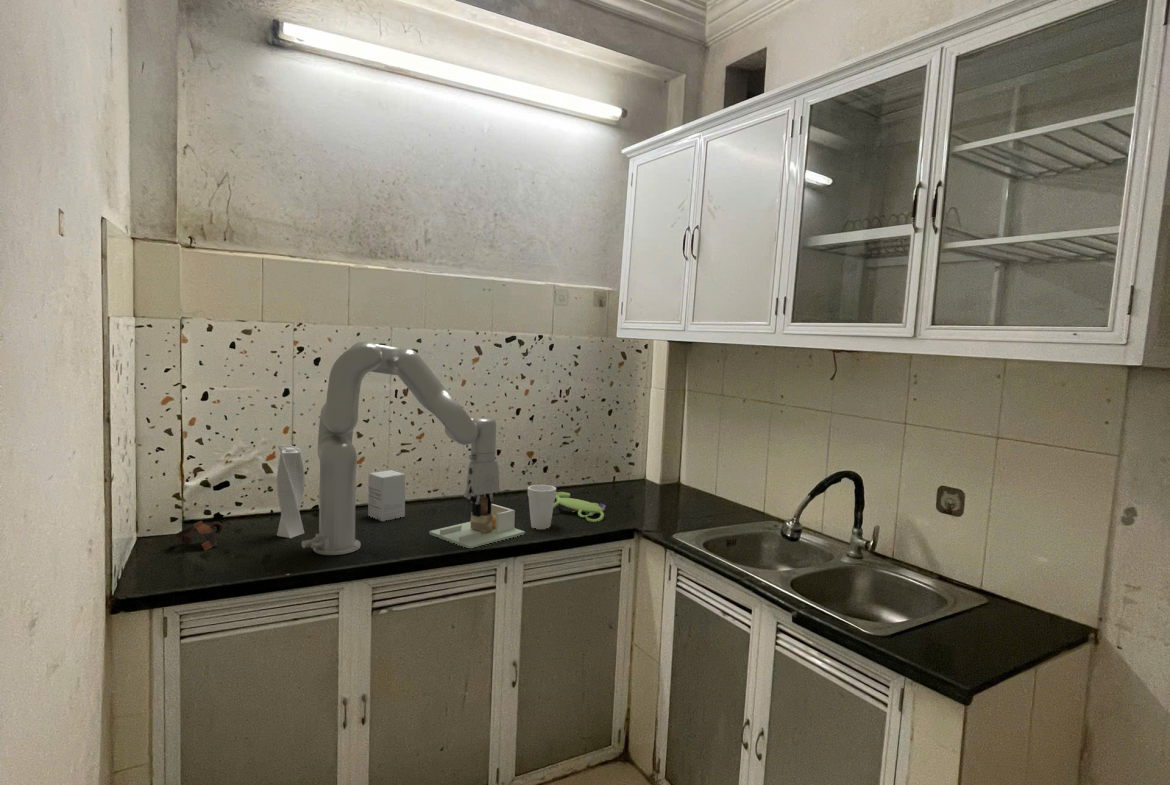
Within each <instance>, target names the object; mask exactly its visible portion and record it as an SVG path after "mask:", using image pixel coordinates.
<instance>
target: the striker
mask: <svg viewBox="0 0 1170 785" xmlns="http://www.w3.org/2000/svg"><path fill="white" fill-rule="evenodd" d="M479 504H480V505H481V509H480V517H477V516H474V515H472V511H471V512H470V522H471V527H470V528H472V529H475V530H478V531H481V532H484V533H486V532H490V531H492V520H493V515H490V514H487V512H488V498H487V497H485V496H480V500H479Z"/></svg>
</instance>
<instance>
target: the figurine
mask: <svg viewBox="0 0 1170 785" xmlns="http://www.w3.org/2000/svg"><path fill="white" fill-rule="evenodd" d="M555 500H556V501H554V507H553V509H554V508H555V507H557V506H558V505H561V506H564V507H566V508H569V509H572V511H571V512H572V513H574V512H577V516H579V517H580V518H585V520H586V521H588V522H589V523H591V522H592V523H598V522H600V521H602V520H603V519H604V518H605V513H604V512H605V510H606V506H607V505H606V504H604V503H601V502H590V501H587V500H582V499H578V498H573V497H572V498H571V493H570V492H564V491H558V492H557V491H556V496H555ZM582 512H584V514H585V515H583V514H582ZM595 514H600V515H599V517H598V518H590V517H592V516H594V515H595ZM597 521H598V522H597Z"/></svg>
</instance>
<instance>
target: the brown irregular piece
mask: <svg viewBox="0 0 1170 785" xmlns="http://www.w3.org/2000/svg"><path fill="white" fill-rule="evenodd" d="M223 527H224V526H223V524H222V523H221V522H220V521H213V522H211V523H209V524H205V523H204V522H203V521H202V520H200V521H197V522H196V523H193V524H192V525H190V526H188V527H186V528H185V529H183V530H180V531H178V532H177V533H176V534H174V536H175V538H176V541H175V543H176V544H182V543H184V544H186V545H187V544H188V545H190V544H191V543H192V542H193V539H192V538H194V533H195V532H196V531H197V533H198V534H199V535H202V536H204V537H205V538H206V541H204V542H203V543H201V544H200V545H201V547H202V548H203V552H206V551H208V550H211V549H212V548H213V547H216V546H218V541H217V539H218V537H219V536H221V534H222V532H223V529H224V528H223ZM214 528H216V531H214Z"/></svg>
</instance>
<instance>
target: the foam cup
mask: <svg viewBox="0 0 1170 785" xmlns="http://www.w3.org/2000/svg"><path fill="white" fill-rule="evenodd" d="M556 492H557V487H555V486H553V485H548V484H534V485H530V486H527V496H528V506H529V516H530V518H529V520H530V527H531V528H532V529H534V528H536V529H535V530H547V529H546V528H548V529H549V527H550V528H551V524H552V519H553V512H554V508H555V507H554V503H555V502H556V501H555V500H556V498H555V496H556ZM553 507H554V508H553Z"/></svg>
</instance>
